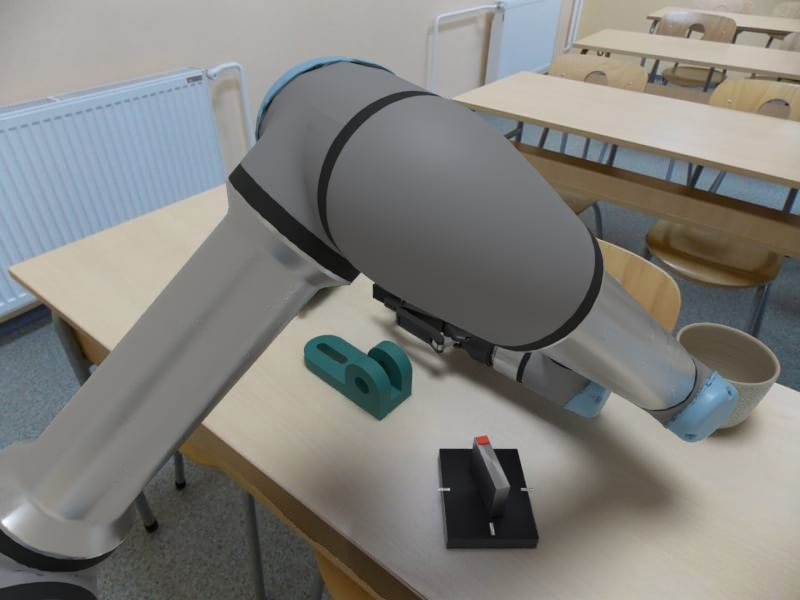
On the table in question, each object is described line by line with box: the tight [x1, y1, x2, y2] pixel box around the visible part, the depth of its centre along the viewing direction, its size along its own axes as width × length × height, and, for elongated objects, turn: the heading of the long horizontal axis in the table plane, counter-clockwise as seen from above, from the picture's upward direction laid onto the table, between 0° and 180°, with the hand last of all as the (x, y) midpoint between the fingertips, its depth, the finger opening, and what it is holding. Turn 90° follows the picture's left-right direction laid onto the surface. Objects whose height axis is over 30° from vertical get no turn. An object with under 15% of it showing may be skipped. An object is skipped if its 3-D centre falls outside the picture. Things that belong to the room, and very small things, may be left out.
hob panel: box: [437, 447, 540, 550], centre depth 61 cm, size 12×11×2 cm
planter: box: [674, 322, 781, 430], centre depth 72 cm, size 12×12×11 cm
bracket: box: [303, 334, 413, 421], centre depth 76 cm, size 18×7×8 cm, turn 49°
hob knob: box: [469, 434, 510, 518], centre depth 59 cm, size 7×2×6 cm, turn 13°
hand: (382, 285), depth 87 cm, fingers closed on mug, 3 cm apart
